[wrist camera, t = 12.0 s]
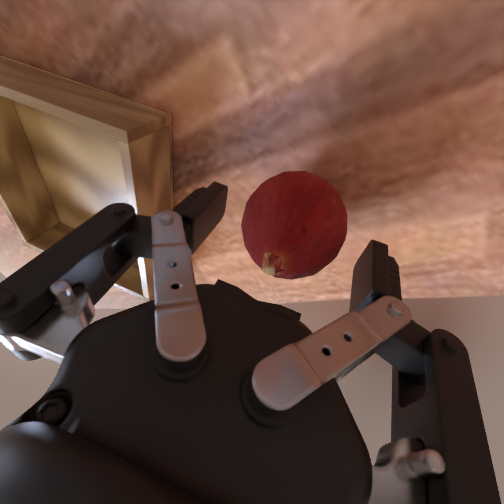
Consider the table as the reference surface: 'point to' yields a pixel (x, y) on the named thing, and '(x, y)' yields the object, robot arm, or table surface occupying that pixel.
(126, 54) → the table surface
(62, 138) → the tray
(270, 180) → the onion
